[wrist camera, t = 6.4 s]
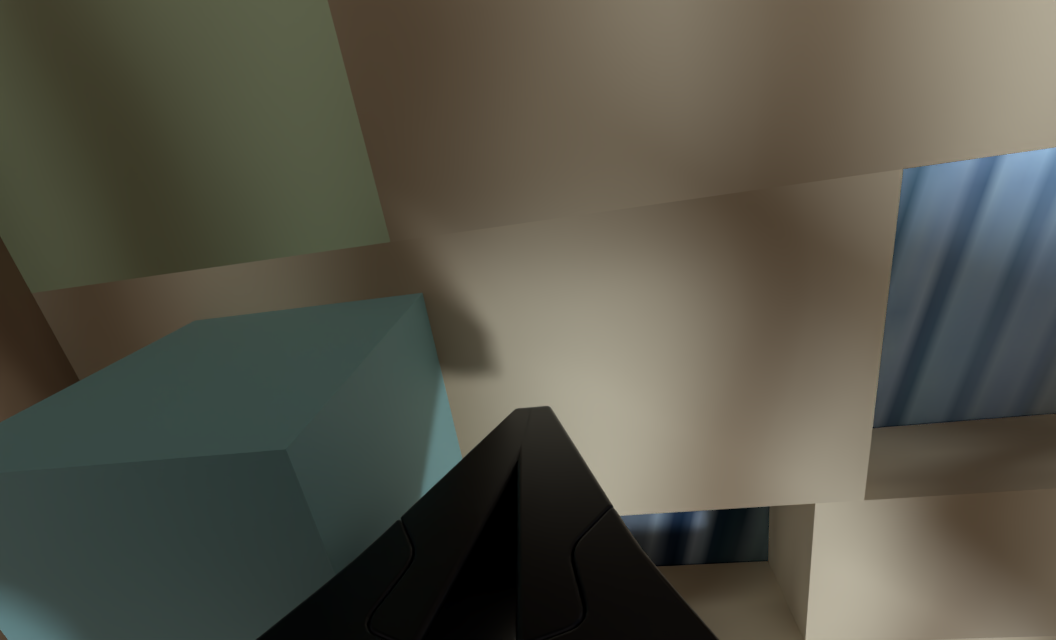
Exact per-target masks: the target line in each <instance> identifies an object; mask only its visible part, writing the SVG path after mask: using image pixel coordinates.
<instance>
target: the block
mask: <svg viewBox="0 0 1056 640" xmlns="http://www.w3.org/2000/svg"><path fill="white" fill-rule="evenodd" d="M461 460H462V455H461V451H460V447H459V443H458V438H457V434H456V430H455V426H454V422H453V418H452V413H451V409H450V405H449V401H448V397H447V393H446V388H445V384H444V380H443V376H442V372H441V368H440V364H439V359H438V355H437V351H436V347H435V343H434V339H433V334H432V330H431V326H430V322H429V318H428V314H427V309H426V305H425V301H424V297H423V293H416V294H408V295H400V296H392V297H384V298H375V299H367V300H359V301H351V302H343V303H335V304H326V305H318V306H310V307H302V308H294V309H285V310H277V311H269V312H261V313H253V314H244V315H236V316H228V317H220V318H212V319H204V320H195V321H193V322H191V323H189V324H187V325H185V326H183V327H181V328H180V329H178V330H176V331H174V332H172V333H170V334H168V335H166V336H164V337H162V338H160V339H159V340H157V341H155V342H153V343H151V344H149V345H147V346H145V347H143V348H141V349H139V350H138V351H136V352H134V353H132V354H130V355H128V356H126V357H124V358H122V359H120V360H118V361H117V362H115V363H113V364H111V365H109V366H107V367H105V368H103V369H101V370H99V371H97V372H96V373H94V374H92V375H90V376H88V377H86V378H84V379H82V380H80V381H78V382H76V383H74V384H73V385H71V386H69V387H67V388H65V389H63V390H61V391H59V392H57V393H55V394H53V395H52V396H50V397H48V398H46V399H44V400H42V401H40V402H38V403H36V404H34V405H32V406H31V407H29V408H27V409H25V410H23V411H21V412H19V413H17V414H15V415H13V416H11V417H10V418H8V419H6V420H4V421H2V422H0V630H1V631H2V633H3V634H4V635H5V636H6V638H7V639H8V640H256V639H257V638H258V637H260V636H261V635H262V634H263V633H265V632H266V631H267V630H268V629H270V628H271V627H272V626H273V625H275V624H276V623H277V622H278V621H279V620H281V619H282V618H283V617H284V616H286V615H287V614H288V613H289V612H291V611H292V610H293V609H294V608H296V607H297V606H298V605H299V604H301V603H302V602H303V601H304V600H306V599H307V598H308V597H309V596H311V595H312V594H313V593H314V592H316V591H317V590H318V589H319V588H321V587H322V586H323V585H324V584H325V583H327V582H328V581H329V580H330V579H331V578H333V577H334V576H335V575H336V574H338V573H339V572H340V571H341V570H342V569H344V568H345V567H346V566H347V565H348V564H350V563H351V562H352V561H353V560H354V559H355V558H357V557H358V556H359V555H360V554H361V553H362V552H363V551H364V550H365V549H367V548H368V547H369V546H370V545H371V544H372V543H373V542H374V541H375V540H377V539H378V538H379V537H380V536H381V535H382V534H383V533H384V532H385V531H386V530H387V529H388V528H389V527H390V526H392V525H393V524H394V523H395V522H396V521H397V520H401V516H402V515H403V514H404V513H406V512H407V511H408V510H409V509H410V508H411V507H412V506H413V505H414V504H415V503H416V502H417V501H418V500H419V499H420V498H421V497H422V496H423V495H425V494H426V493H427V492H428V491H429V490H430V489H431V488H432V487H433V486H434V485H435V484H436V483H437V482H438V481H439V480H440V479H441V478H443V477H444V476H445V475H446V474H447V473H448V472H449V471H450V470H451V469H452V468H453V467H454V466H455V465H456V464H457V463H458V462H459V461H461Z"/></svg>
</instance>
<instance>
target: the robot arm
mask: <svg viewBox="0 0 1056 640" xmlns="http://www.w3.org/2000/svg"><path fill="white" fill-rule="evenodd" d="M256 640H719V639H718V637H717V636H716V635H715V634H714V633H713V632H712V631H711V629H710V628H709V627H708V626H707V625H706V624H705V623H704V621H703V620H702V619H701V618H700V617H699V616H698V614H697V613H696V612H695V611H694V610H693V609H692V608H691V606H690V605H689V604H688V603H687V602H686V601H685V600H684V598H683V597H682V596H681V595H680V594H679V593H678V591H677V590H676V589H675V588H674V587H673V586H672V585H671V583H670V582H669V581H668V580H667V579H666V578H665V577H664V575H663V574H662V573H661V572H660V570H659V569H658V568H657V567H656V566H655V564H654V563H653V562H652V561H651V559H650V558H649V557H648V556H647V554H646V553H645V552H644V551H643V550H642V548H641V547H640V545H639V544H638V542H637V541H636V540H635V538H634V537H633V535H632V534H631V532H630V531H629V529H628V528H627V527H626V525H625V524H624V522H623V520H622V519H621V517H620V516H619V514H618V512H617V511H616V510H615V509H614V507H613V505H612V503H611V502H610V500H609V499H608V497H607V495H606V494H605V492H604V491H603V489H602V488H601V486H600V484H599V483H598V481H597V480H596V478H595V476H594V475H593V473H592V472H591V470H590V468H589V467H588V465H587V464H586V462H585V461H584V459H583V457H582V456H581V454H580V453H579V451H578V449H577V448H576V446H575V445H574V443H573V441H572V440H571V438H570V437H569V435H568V434H567V432H566V430H565V429H564V427H563V426H562V424H561V422H560V421H559V419H558V418H557V416H556V414H555V413H554V411H553V410H552V408H551V407H550V406H538V407H526V408H517V409H515V410H513V411H512V412H511V413H510V414H509V415H508V416H507V417H506V418H505V419H504V420H503V421H502V422H501V423H500V424H499V425H498V426H496V427H495V428H494V429H493V430H492V431H491V432H490V433H489V434H488V435H487V436H486V437H485V438H484V439H483V440H482V441H481V442H480V443H479V444H477V445H476V446H475V447H474V448H473V449H472V450H471V451H470V452H469V453H468V454H467V455H466V456H465V457H464V458H463V459H462V460H461V461H459V462H458V463H457V464H456V465H455V466H454V467H453V468H452V469H451V470H450V471H449V472H448V473H447V474H446V475H445V476H444V477H443V478H441V479H440V480H439V481H438V482H437V483H436V484H435V485H434V486H433V487H432V488H431V489H430V490H429V491H428V492H427V493H426V494H425V495H423V496H422V497H421V498H420V499H419V500H418V501H417V502H416V503H415V504H414V505H413V506H412V507H411V508H410V509H409V510H408V511H407V512H406V513H404V514H403V515H402V516H401V520H397V521H396V522H395V523H394V524H393V525H392V526H390V527H389V528H388V529H387V530H386V531H385V532H384V533H383V534H382V535H381V536H380V537H379V538H378V539H377V540H375V541H374V542H373V543H372V544H371V545H370V546H369V547H368V548H367V549H365V550H364V551H363V552H362V553H361V554H360V555H359V556H358V557H357V558H355V559H354V560H353V561H352V562H351V563H350V564H348V565H347V566H346V567H345V568H344V569H342V570H341V571H340V572H339V573H338V574H336V575H335V576H334V577H333V578H331V579H330V580H329V581H328V582H327V583H325V584H324V585H323V586H322V587H321V588H319V589H318V590H317V591H316V592H314V593H313V594H312V595H311V596H309V597H308V598H307V599H306V600H304V601H303V602H302V603H301V604H299V605H298V606H297V607H296V608H294V609H293V610H292V611H291V612H289V613H288V614H287V615H286V616H284V617H283V618H282V619H281V620H279V621H278V622H277V623H276V624H275V625H273V626H272V627H271V628H270V629H268V630H267V631H266V632H265V633H263V634H262V635H261V636H260V637H258V638H257V639H256Z"/></svg>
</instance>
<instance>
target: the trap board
mask: <svg viewBox="0 0 1056 640" xmlns="http://www.w3.org/2000/svg"><path fill="white" fill-rule="evenodd" d="M1054 147H1056V0H0V422H2V421H4V420H6V419H8V418H10V417H11V416H13V415H15V414H17V413H19V412H21V411H23V410H25V409H27V408H29V407H31V406H32V405H34V404H36V403H38V402H40V401H42V400H44V399H46V398H48V397H50V396H52V395H53V394H55V393H57V392H59V391H61V390H63V389H65V388H67V387H69V386H71V385H73V384H74V383H76V382H78V381H80V380H82V379H84V378H86V377H88V376H90V375H92V374H94V373H96V372H97V371H99V370H101V369H103V368H105V367H107V366H109V365H111V364H113V363H115V362H117V361H118V360H120V359H122V358H124V357H126V356H128V355H130V354H132V353H134V352H136V351H138V350H139V349H141V348H143V347H145V346H147V345H149V344H151V343H153V342H155V341H157V340H159V339H160V338H162V337H164V336H166V335H168V334H170V333H172V332H174V331H176V330H178V329H180V328H181V327H183V326H185V325H187V324H189V323H191V322H193V321H195V320H204V319H212V318H220V317H228V316H236V315H244V314H253V313H261V312H269V311H277V310H285V309H294V308H302V307H310V306H318V305H326V304H335V303H343V302H351V301H359V300H367V299H375V298H384V297H392V296H400V295H408V294H416V293H423V297H424V301H425V305H426V309H427V314H428V318H429V322H430V326H431V330H432V334H433V339H434V343H435V347H436V351H437V355H438V359H439V364H440V368H441V372H442V376H443V380H444V384H445V388H446V393H447V397H448V401H449V405H450V409H451V413H452V418H453V422H454V426H455V430H456V434H457V438H458V443H459V447H460V451H461V455H462V459H463V458H464V457H465V456H466V455H467V454H468V453H469V452H470V451H471V450H472V449H473V448H474V447H475V446H476V445H477V444H479V443H480V442H481V441H482V440H483V439H484V438H485V437H486V436H487V435H488V434H489V433H490V432H491V431H492V430H493V429H494V428H495V427H496V426H498V425H499V424H500V423H501V422H502V421H503V420H504V419H505V418H506V417H507V416H508V415H509V414H510V413H511V412H512V411H513V410H515V409H517V408H526V407H538V406H550V407H551V408H552V410H553V411H554V413H555V414H556V416H557V418H558V419H559V421H560V422H561V424H562V426H563V427H564V429H565V430H566V432H567V434H568V435H569V437H570V438H571V440H572V441H573V443H574V445H575V446H576V448H577V449H578V451H579V453H580V454H581V456H582V457H583V459H584V461H585V462H586V464H587V465H588V467H589V468H590V470H591V472H592V473H593V475H594V476H595V478H596V480H597V481H598V483H599V484H600V486H601V488H602V489H603V491H604V492H605V494H606V495H607V497H608V499H609V500H610V502H611V503H612V505H613V507H614V509H615V510H616V511H617V512H618V514H619V516H622V515H638V514H654V513H670V512H686V511H702V510H718V509H734V508H750V507H766V506H770V509H769V542H768V561H760V562H739V563H719V564H698V565H677V566H657V568H658V569H659V570H660V572H661V573H662V574H663V575H664V577H665V578H666V579H667V580H668V581H669V582H670V583H671V585H672V586H673V587H674V588H675V589H676V590H677V591H678V593H679V594H680V595H681V596H682V597H683V598H684V600H685V601H686V602H687V603H688V604H689V605H690V606H691V608H692V609H693V610H694V611H695V612H696V613H697V614H698V616H699V617H700V618H701V619H702V620H703V621H704V623H705V624H706V625H707V626H708V627H709V628H710V629H711V631H712V632H713V633H714V634H715V635H716V636H717V637H718V639H719V640H1056V414H1044V415H1032V416H1019V417H1006V418H994V419H981V420H969V421H956V422H944V423H931V424H919V425H906V426H894V427H881V428H873V421H874V412H875V404H876V395H877V387H878V378H879V370H880V361H881V353H882V344H883V336H884V327H885V319H886V310H887V302H888V294H889V285H890V277H891V268H892V260H893V251H894V243H895V234H896V226H897V217H898V209H899V200H900V192H901V183H902V175H903V169H907V168H914V167H921V166H928V165H935V164H942V163H949V162H956V161H963V160H970V159H977V158H984V157H991V156H998V155H1005V154H1012V153H1019V152H1026V151H1033V150H1040V149H1047V148H1054ZM0 640H8V639H7V638H6V636H5V635H4V634H3V633H2V631H1V630H0Z"/></svg>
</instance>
